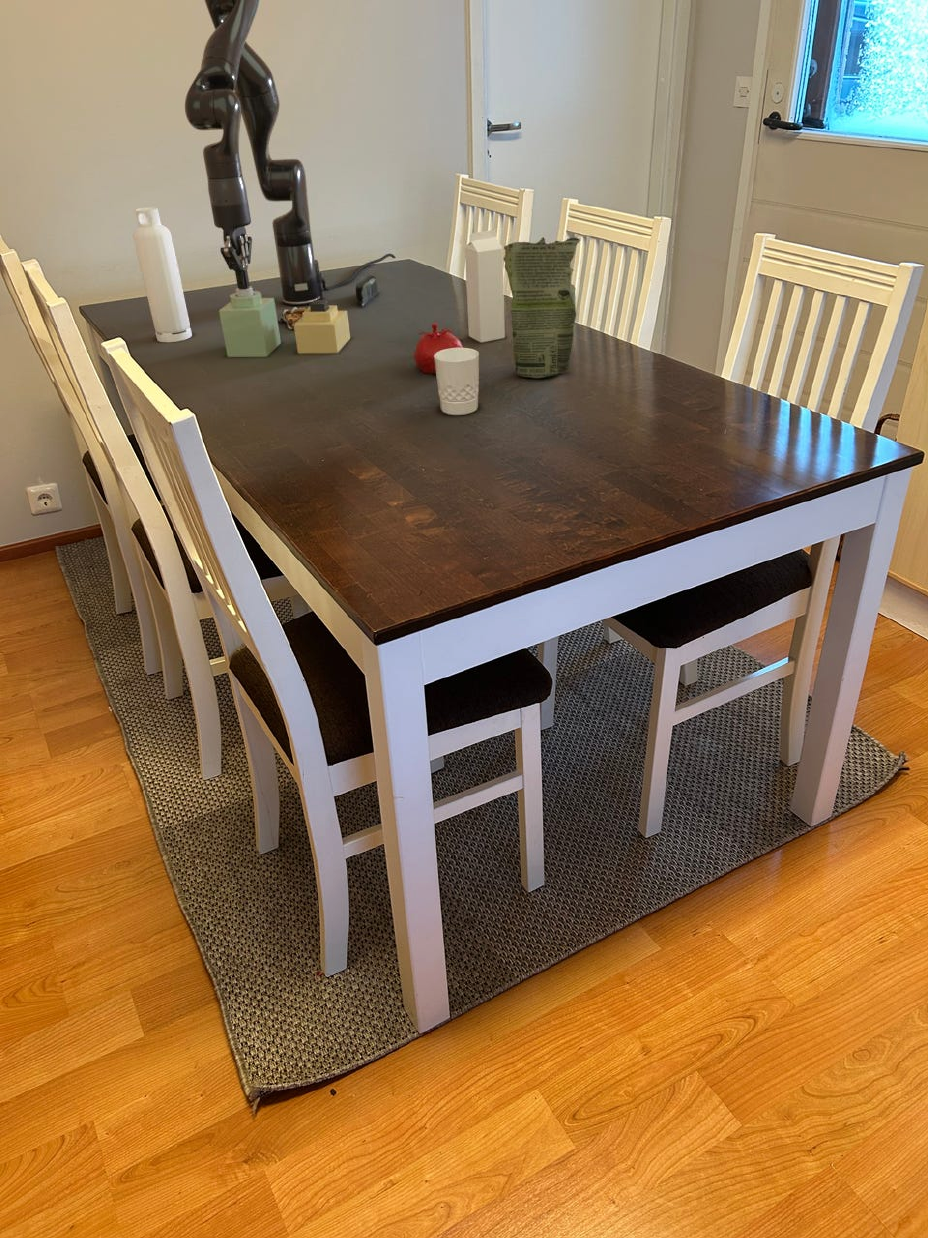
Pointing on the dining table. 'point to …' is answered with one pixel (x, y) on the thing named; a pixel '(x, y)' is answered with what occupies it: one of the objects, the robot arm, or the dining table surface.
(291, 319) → the barbecue chicken platter
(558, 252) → the pouch
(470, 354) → the white cup
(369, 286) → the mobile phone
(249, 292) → the round grey push button
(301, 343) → the block
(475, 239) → the milk
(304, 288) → the robot arm
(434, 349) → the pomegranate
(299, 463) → the dining table surface
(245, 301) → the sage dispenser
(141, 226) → the bottle
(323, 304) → the charcoal square push button
